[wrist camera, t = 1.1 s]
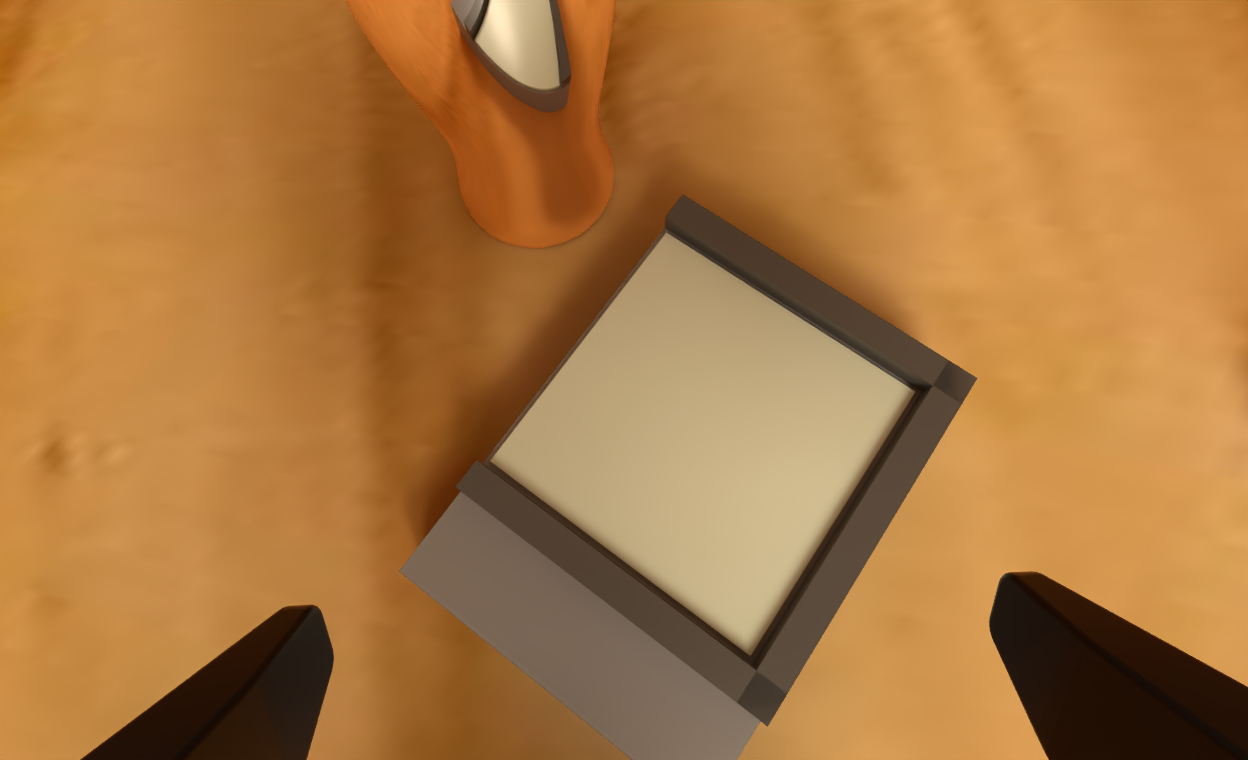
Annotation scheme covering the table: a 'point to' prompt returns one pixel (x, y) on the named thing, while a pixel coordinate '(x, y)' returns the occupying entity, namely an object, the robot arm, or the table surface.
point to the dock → (691, 492)
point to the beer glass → (509, 103)
